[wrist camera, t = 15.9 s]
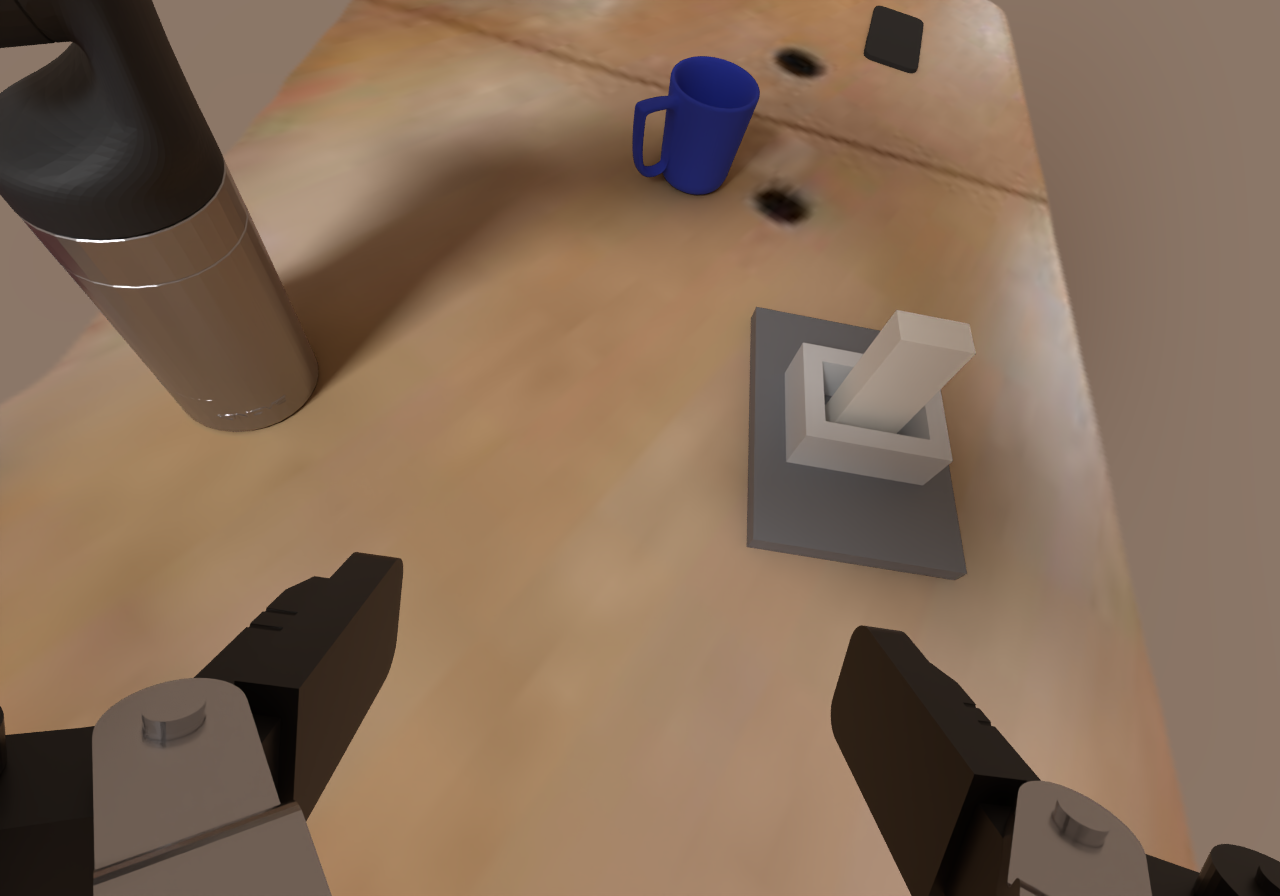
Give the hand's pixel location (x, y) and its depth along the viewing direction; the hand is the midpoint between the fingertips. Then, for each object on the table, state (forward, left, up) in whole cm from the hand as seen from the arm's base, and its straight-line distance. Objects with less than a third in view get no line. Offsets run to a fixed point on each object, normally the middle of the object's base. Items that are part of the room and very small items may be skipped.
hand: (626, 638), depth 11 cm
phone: (-60, +78, -31) cm, 103 cm away
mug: (-43, +33, -31) cm, 62 cm away
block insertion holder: (-11, +31, -30) cm, 45 cm away
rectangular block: (-11, +31, -29) cm, 43 cm away
